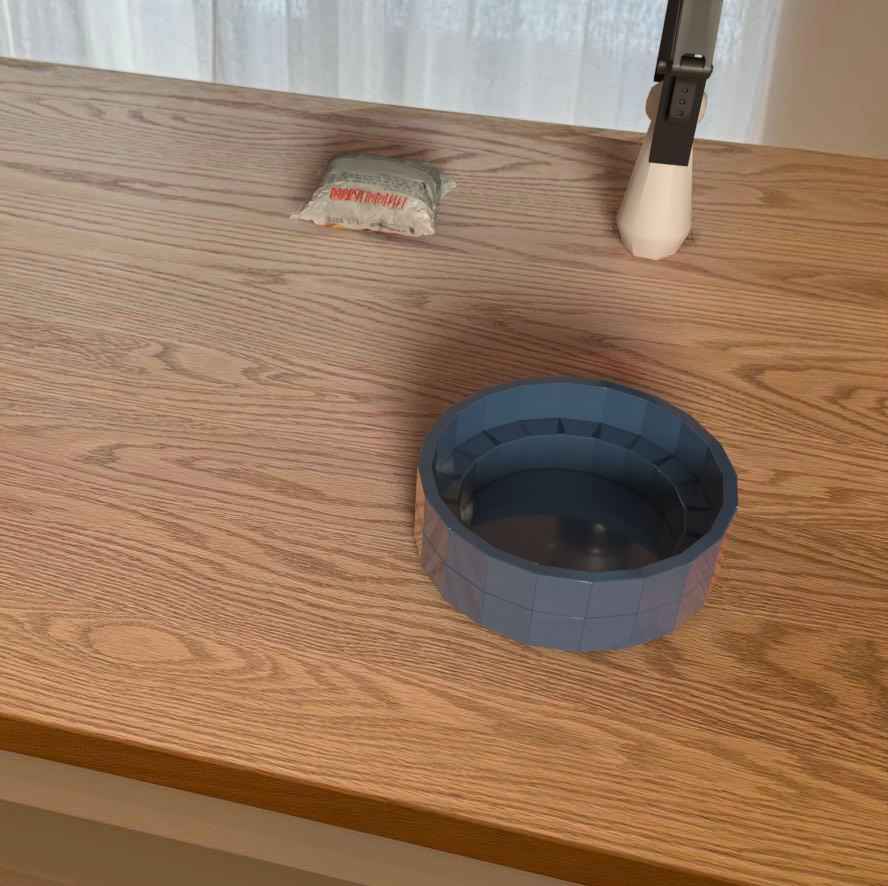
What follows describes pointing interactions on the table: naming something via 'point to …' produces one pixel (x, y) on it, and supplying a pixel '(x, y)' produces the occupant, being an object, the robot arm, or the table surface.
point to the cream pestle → (657, 197)
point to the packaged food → (377, 194)
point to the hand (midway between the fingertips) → (669, 120)
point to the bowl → (573, 512)
